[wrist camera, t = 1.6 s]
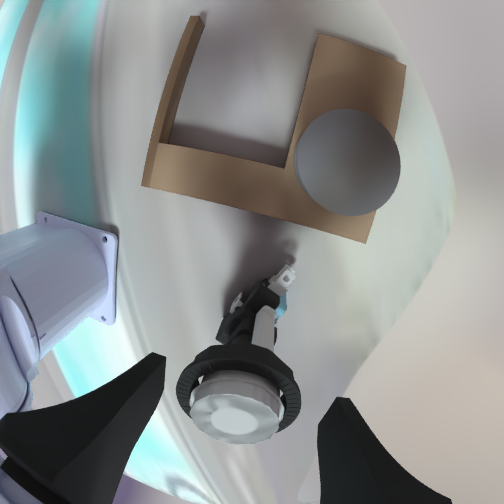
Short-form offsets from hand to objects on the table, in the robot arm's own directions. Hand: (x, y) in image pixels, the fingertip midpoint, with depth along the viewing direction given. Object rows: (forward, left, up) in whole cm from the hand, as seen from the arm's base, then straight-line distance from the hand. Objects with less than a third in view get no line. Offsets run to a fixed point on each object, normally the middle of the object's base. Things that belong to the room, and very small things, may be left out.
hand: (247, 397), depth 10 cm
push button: (0, 0, -9) cm, 9 cm away
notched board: (-2, +12, -9) cm, 15 cm away
